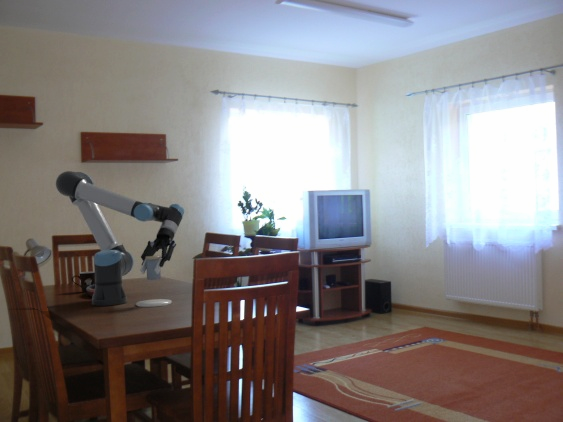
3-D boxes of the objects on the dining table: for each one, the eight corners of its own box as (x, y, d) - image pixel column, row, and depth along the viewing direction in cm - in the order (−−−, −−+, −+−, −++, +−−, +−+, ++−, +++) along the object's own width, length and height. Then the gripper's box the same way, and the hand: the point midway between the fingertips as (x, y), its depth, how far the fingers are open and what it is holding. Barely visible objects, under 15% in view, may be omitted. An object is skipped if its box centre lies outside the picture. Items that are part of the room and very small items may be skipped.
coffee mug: (99, 290, 320) (99, 271, 320) (93, 292, 312) (92, 273, 311) (78, 290, 321) (78, 271, 321) (71, 293, 313) (70, 273, 313)
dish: (117, 290, 319) (117, 280, 319) (119, 298, 290) (119, 287, 290) (86, 292, 314) (86, 282, 314) (85, 300, 285) (85, 290, 285)
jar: (144, 280, 262) (143, 257, 262) (149, 278, 268) (148, 255, 268) (158, 279, 261) (157, 256, 261) (163, 277, 267) (162, 255, 267)
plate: (142, 308, 255) (142, 305, 255) (132, 304, 268) (132, 301, 268) (176, 304, 262) (176, 302, 262) (164, 300, 275) (164, 298, 275)
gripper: (188, 237, 276) (172, 277, 261) (151, 238, 282) (133, 277, 267) (182, 226, 271) (165, 266, 256) (145, 227, 277) (126, 266, 262)
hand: (149, 272), depth 261 cm, fingers closed on jar, 6 cm apart
